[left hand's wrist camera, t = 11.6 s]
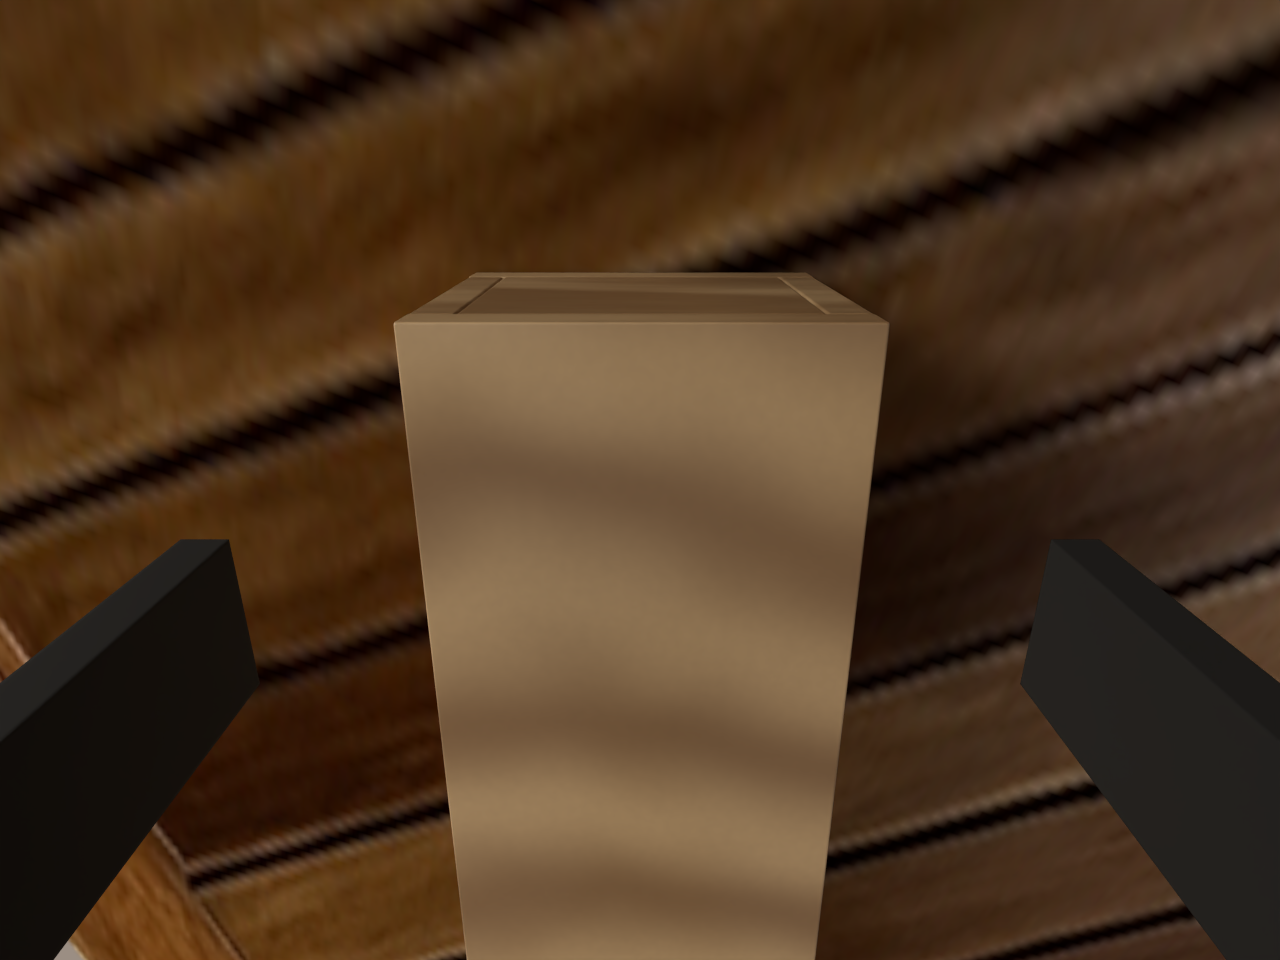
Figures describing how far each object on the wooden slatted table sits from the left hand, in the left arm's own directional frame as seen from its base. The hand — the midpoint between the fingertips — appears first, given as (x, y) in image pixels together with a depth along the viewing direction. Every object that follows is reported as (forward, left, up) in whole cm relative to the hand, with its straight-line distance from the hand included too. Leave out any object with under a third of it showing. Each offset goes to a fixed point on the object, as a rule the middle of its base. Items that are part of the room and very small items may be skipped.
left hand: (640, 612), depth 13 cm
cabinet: (+3, +6, -14) cm, 15 cm away
